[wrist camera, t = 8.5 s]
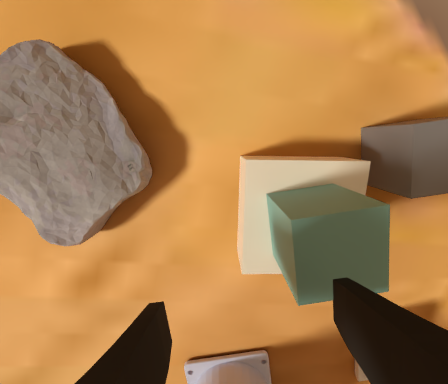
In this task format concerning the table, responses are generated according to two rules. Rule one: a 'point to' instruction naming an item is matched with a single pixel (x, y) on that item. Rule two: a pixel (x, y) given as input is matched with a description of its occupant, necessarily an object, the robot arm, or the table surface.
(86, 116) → the stone block
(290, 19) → the table surface
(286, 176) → the cream base block
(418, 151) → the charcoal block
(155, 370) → the robot arm
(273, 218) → the teal block
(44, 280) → the table surface
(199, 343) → the table surface
